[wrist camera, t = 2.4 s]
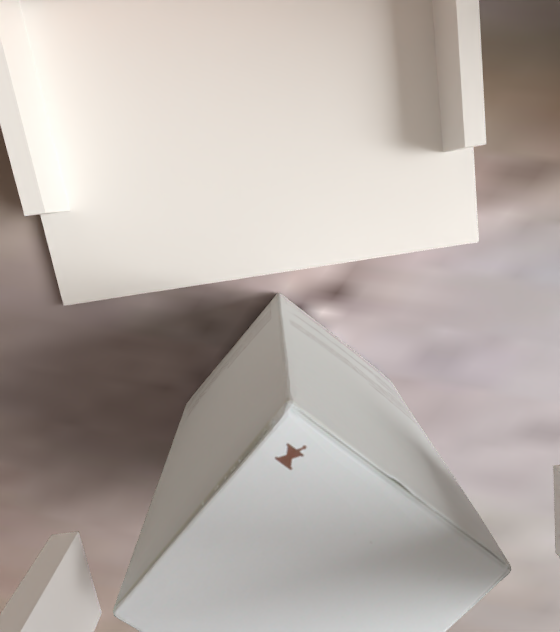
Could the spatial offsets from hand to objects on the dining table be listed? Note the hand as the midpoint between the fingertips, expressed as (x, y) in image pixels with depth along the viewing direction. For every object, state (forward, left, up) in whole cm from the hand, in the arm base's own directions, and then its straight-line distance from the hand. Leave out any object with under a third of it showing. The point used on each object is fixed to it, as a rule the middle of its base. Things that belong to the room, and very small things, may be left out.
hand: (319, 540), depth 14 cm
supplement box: (0, 0, -11) cm, 11 cm away
